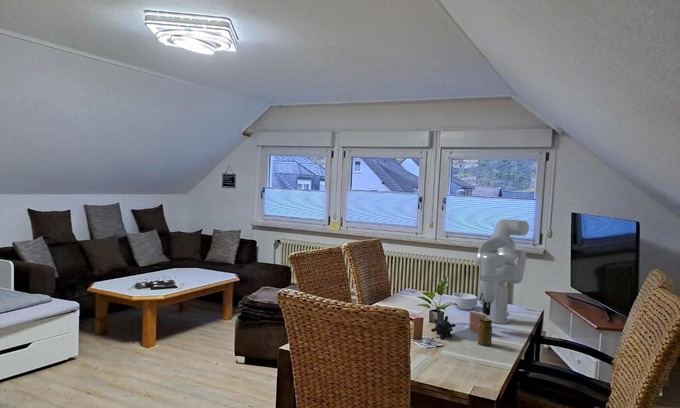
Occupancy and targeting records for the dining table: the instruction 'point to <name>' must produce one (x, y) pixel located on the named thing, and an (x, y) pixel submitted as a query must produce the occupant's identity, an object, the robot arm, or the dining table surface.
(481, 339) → the condiment
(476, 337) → the rubber mat
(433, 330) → the toy ball
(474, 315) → the birch tile
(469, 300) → the paper bowls
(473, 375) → the dining table surface
